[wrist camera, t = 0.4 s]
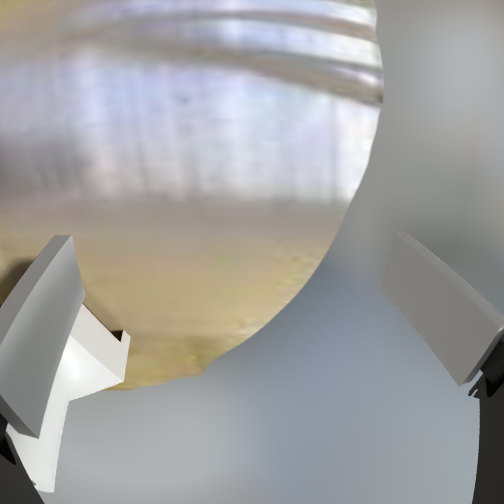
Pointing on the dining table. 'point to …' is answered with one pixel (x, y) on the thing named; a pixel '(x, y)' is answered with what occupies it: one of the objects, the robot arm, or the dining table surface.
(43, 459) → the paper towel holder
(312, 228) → the dining table surface
